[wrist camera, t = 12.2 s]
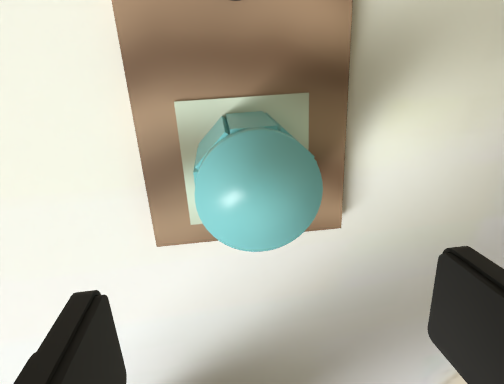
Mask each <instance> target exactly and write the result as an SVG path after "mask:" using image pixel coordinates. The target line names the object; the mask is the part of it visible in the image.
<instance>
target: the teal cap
mask: <svg viewBox="0 0 504 384" xmlns="http://www.w3.org/2000/svg"><path fill="white" fill-rule="evenodd" d="M314 157H315V156H314V155H313V154H311V153H310V152H309V151H308V150H307V149H306V148H305V147H304V146H303V145H302V144H300V143H299V142H298V141H297V140H296V139H295V138H294V137H293V136H292V135H291V134H289V133H288V132H287V131H286V130H285V129H284V128H283V127H282V126H281V125H280V124H279V123H277V122H276V121H275V120H274V119H273V118H272V117H271V116H270V115H269V114H268V113H264V112H263V111H256V112H243V113H230V114H226V119H225V118H224V117H223V116H221V117H220V119H219V120H218V121H217V122H216V123H215V125H214V126H213V127H212V128H211V130H210V131H209V132H208V133H207V134H206V136H205V137H204V138H203V139H202V140H201V142H200V143H199V145H198V148H197V154H196V160H195V165H194V171H193V175H194V182H195V204H196V209H197V212H198V215H199V217H200V219H201V221H202V223H203V225H204V226H205V227H206V229H207V230H208V231H209V232H210V233H211V234H212V235H213V236H214V237H215V238H216V239H217V240H219V241H220V242H222V243H224V244H225V245H228V246H230V247H232V248H235V249H238V250H243V251H251V252H260V251H268V250H273V249H276V248H279V247H282V246H284V245H286V244H288V243H290V242H292V241H293V240H295V239H296V238H297V237H299V236H300V235H301V234H302V233H303V232H304V231H305V230H306V229H307V228H308V227H309V226H310V224H311V223H312V221H313V220H314V218H315V216H316V215H317V213H318V210H319V207H320V205H321V200H322V193H323V183H322V177H321V173H320V170H319V167H318V165H317V161H316V160H315V159H314Z"/></svg>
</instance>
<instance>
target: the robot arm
mask: <svg viewBox="0 0 504 384" xmlns="http://www.w3.org/2000/svg"><path fill="white" fill-rule="evenodd" d="M428 334H429V337H430V339H431V340H432V342H433V343H434V344H435V345H436V347H437V348H438V349H439V350H440V351H441V353H442V354H443V355H444V356H445V357H446V359H447V360H448V361H449V362H450V363H451V364H452V366H453V367H454V368H455V369H456V370H457V372H458V373H459V374H460V375H461V376H462V378H463V379H464V380H465V381H466V382H467V383H468V384H504V269H503V268H501V267H500V266H498V265H496V264H495V263H493V262H492V261H490V260H489V259H487V258H486V257H484V256H483V255H481V254H480V253H478V252H477V251H475V250H474V249H472V248H470V247H468V246H462V247H453V248H447V249H445V250H444V251H443V254H441V255H440V256H439V258H438V263H437V270H436V276H435V283H434V289H433V296H432V303H431V309H430V316H429V322H428ZM14 384H126V369H125V365H124V361H123V357H122V353H121V349H120V345H119V341H118V336H117V332H116V328H115V324H114V320H113V316H112V312H111V308H110V304H109V300H108V297H107V296H106V295H101V294H100V292H99V291H98V290H94V291H85V292H77V293H73V295H72V296H71V297H70V299H69V301H68V302H67V304H66V305H65V307H64V309H63V310H62V312H61V313H60V315H59V317H58V318H57V320H56V321H55V323H54V325H53V326H52V328H51V329H50V331H49V333H48V334H47V336H46V338H45V339H44V341H43V342H42V344H41V346H40V347H39V349H38V350H37V352H36V353H34V354H33V355H32V356H31V357H30V359H29V360H28V361H27V363H26V365H25V366H24V368H23V369H22V371H21V372H20V374H19V376H18V377H17V379H16V380H15V382H14Z"/></svg>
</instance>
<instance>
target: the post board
mask: <svg viewBox="0 0 504 384" xmlns="http://www.w3.org/2000/svg"><path fill="white" fill-rule="evenodd" d="M352 2H353V0H112V5H113V11H114V16H115V22H116V27H117V33H118V38H119V44H120V49H121V54H122V60H123V65H124V71H125V76H126V82H127V87H128V93H129V98H130V104H131V109H132V114H133V120H134V125H135V131H136V136H137V142H138V147H139V153H140V158H141V164H142V169H143V174H144V180H145V185H146V191H147V196H148V202H149V207H150V213H151V218H152V223H153V229H154V234H155V240H156V245H157V247H160V246H170V245H179V244H189V243H199V242H209V241H218V240H217V239H216V238H215V237H214V236H213V235H212V234H211V233H210V232H209V231H208V230H207V229H206V227H205V226H204V225H203V223H202V221H201V219H200V217H199V215H198V212H197V209H196V204H195V182H194V175H193V171H194V165H195V160H196V154H197V148H198V145H199V143H200V142H201V140H202V139H203V138H204V137H205V136H206V134H207V133H208V132H209V131H210V130H211V128H212V127H213V126H214V125H215V123H216V122H217V121H218V120H219V119H220V117H221V116H223V117H224V118H225V119H226V114H230V113H243V112H256V111H263V112H264V113H268V114H269V115H270V116H271V117H272V118H273V119H274V120H275V121H276V122H277V123H279V124H280V125H281V126H282V127H283V128H284V129H285V130H286V131H287V132H288V133H289V134H291V135H292V136H293V137H294V138H295V139H296V140H297V141H298V142H299V143H300V144H302V145H303V146H304V147H305V148H306V149H307V150H308V151H309V152H310V153H311V154H313V155H314V156H315V157H314V159H315V160H316V161H317V165H318V167H319V170H320V173H321V177H322V183H323V193H322V200H321V205H320V207H319V210H318V213H317V215H316V216H315V218H314V220H313V221H312V223H311V224H310V226H309V227H308V228H307V229H306V230H305V231H304V232H306V231H316V230H326V229H335V228H341V221H342V201H343V181H344V161H345V141H346V122H347V102H348V82H349V62H350V42H351V22H352Z"/></svg>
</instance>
